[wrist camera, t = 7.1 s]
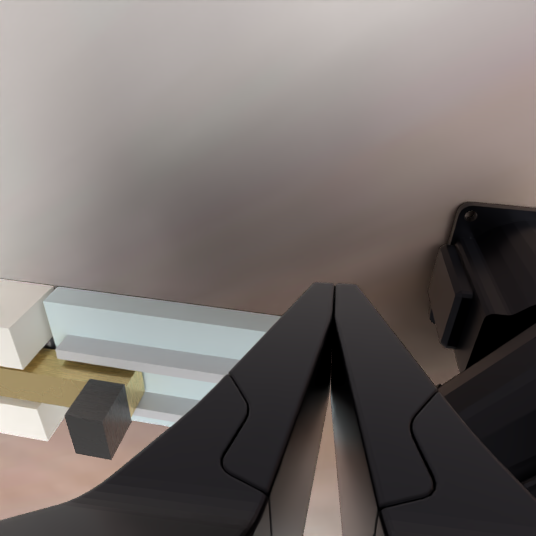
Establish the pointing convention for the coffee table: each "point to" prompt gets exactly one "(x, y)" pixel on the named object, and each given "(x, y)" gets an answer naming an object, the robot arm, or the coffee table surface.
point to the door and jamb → (121, 347)
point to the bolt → (80, 398)
